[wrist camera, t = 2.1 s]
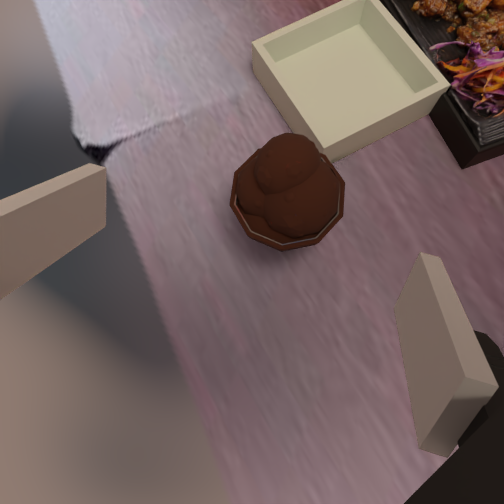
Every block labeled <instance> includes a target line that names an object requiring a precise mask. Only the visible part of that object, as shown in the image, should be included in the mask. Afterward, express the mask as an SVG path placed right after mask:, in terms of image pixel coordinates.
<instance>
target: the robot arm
mask: <svg viewBox="0 0 504 504" xmlns="http://www.w3.org/2000/svg"><path fill="white" fill-rule="evenodd" d="M105 226H106V168H105V167H102V166H98V165H94V164H90V163H89V164H87V165H84V166H82V167H80V168H77V169H74V170H72V171H70V172H67V173H65V174H62V175H61V176H58V177H55V178H53V179H50V180H48V181H46V182H43V183H41V184H38V185H36V186H33V187H31V188H29V189H26V190H24V191H21V192H19V193H17V194H14V195H12V196H9V197H7V198H5V199H2V200H0V300H1V299H3V298H4V297H5V296H7V295H8V294H10V293H11V292H13V291H14V290H15V289H17V288H18V287H20V286H21V285H23V284H24V283H25V282H27V281H28V280H30V279H31V278H32V277H34V276H35V275H37V274H38V273H40V272H41V271H42V270H44V269H45V268H47V267H48V266H50V265H51V264H52V263H54V262H55V261H57V260H58V259H60V258H61V257H62V256H64V255H65V254H66V253H68V252H70V251H71V250H72V249H74V248H75V247H77V246H78V245H80V244H81V243H82V242H84V241H85V240H87V239H88V238H89V237H91V236H92V235H94V234H95V233H97V232H98V231H100V230H101V229H102V228H104V227H105ZM394 313H395V318H396V324H397V329H398V335H399V340H400V346H401V352H402V357H403V363H404V368H405V374H406V380H407V385H408V391H409V396H410V402H411V407H412V413H413V419H414V424H415V430H416V435H417V441H418V447H419V449H422V450H425V451H428V452H431V453H434V454H437V455H440V456H443V457H447V458H448V457H449V455H450V454H451V452H452V451H453V450H454V448H455V447H456V446H457V444H458V445H459V449H458V450H457V451H456V452H455V453H454V454H453V455H452V456H451V457H450V458H449V459H448V460H447V461H446V462H445V463H444V464H443V465H442V466H441V467H440V468H439V469H438V470H437V471H436V472H435V473H434V474H433V475H432V476H431V477H430V478H429V479H428V480H427V481H426V482H425V483H424V484H423V485H422V486H421V487H420V488H419V489H418V490H417V491H416V492H415V493H414V494H413V495H412V496H411V497H410V498H409V499H408V500H407V501H406V502H405V503H404V504H504V357H503V355H502V353H501V351H500V349H499V347H498V346H497V345H496V344H495V343H494V342H493V341H492V340H491V339H490V338H489V337H488V336H487V334H485V333H481V332H477V331H474V330H473V329H472V327H471V324H470V322H469V320H468V318H467V316H466V313H465V311H464V309H463V307H462V305H461V302H460V300H459V298H458V296H457V294H456V291H455V289H454V287H453V285H452V283H451V280H450V278H449V276H448V274H447V272H446V269H445V267H444V265H443V263H442V261H441V258H440V257H437V256H433V255H429V254H426V253H422V252H420V253H419V255H418V257H417V259H416V262H415V264H414V266H413V268H412V270H411V272H410V274H409V277H408V279H407V281H406V283H405V285H404V287H403V289H402V292H401V294H400V296H399V298H398V300H397V302H396V305H395V307H394Z"/></svg>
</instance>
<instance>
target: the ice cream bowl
mask: <svg viewBox="0 0 504 504" xmlns="http://www.w3.org/2000/svg"><path fill="white" fill-rule="evenodd" d="M344 191H345V182H344V180H343V179H342V178H341V176H340V175H339V173H338V172H337V170H336V169H335V168H334V166H333V165H332V163H331V162H330V161H329V159H328V158H327V156H326V155H325V154H322V153H319V150H318V149H317V148H316V145H315V143H314V142H313V141H311V140H309V139H308V138H307V137H306V136H304V135H301V134H293V133H284V134H281V135H279V136H276V137H273V138H272V139H271V140H269V141H268V142H267V143H266V144H265V145H264V146H263V147H262V148H261V149H258V150H257V151H256V152H255V153H254V154H253V155H252V156H251V157H250V158H249V159H248V160H247V161H246V162H245V163H244V164H243V165H242V166H241V167H239V168H238V169H237V170H236V171H235V172H234V179H233V185H232V192H231V199H230V207H231V208H232V210H233V212H234V213H235V215H236V217H237V218H238V220H239V222H240V224H241V225H242V227H243V229H244V230H245V232H246V234H247V235H248V236H249V237H250V238H251V239H253V240H256V241H258V242H260V243H263V244H265V245H267V246H270V247H272V248H275V249H277V250H279V251H286V250H291V249H296V248H301V247H306V246H311V245H316V244H317V243H319V242H320V241H321V240H322V239H323V237H324V236H325V235H326V234H327V233H328V232H329V231H330V230H331V229H332V228H333V227H334V225H335V224H336V223H337V222H338V221H339V220H340V219H341V218H342V217H343V209H344Z"/></svg>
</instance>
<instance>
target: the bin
mask: <svg viewBox="0 0 504 504" xmlns="http://www.w3.org/2000/svg"><path fill="white" fill-rule="evenodd" d="M252 64H253V73H254V75H255V76H256V78H257V79H258V81H259V82H260V84H261V85H262V87H263V88H264V90H265V91H266V93H267V94H268V96H269V97H270V99H271V100H272V102H273V103H274V105H275V106H276V108H277V109H278V111H279V112H280V114H281V115H282V117H283V118H284V120H285V121H286V123H287V124H288V126H289V127H290V129H291V130H292V132H293V133H294V134H301V135H304V136H306V137H307V138H308V139H309V140H311V141H313V142H314V143H315V145H316V148H317V149H318V150H319V153H322V154H325V155H326V156H327V158H328V159H329V161H330V162H331V163H334V162H336V161H338V160H340V159H342V158H344V157H346V156H348V155H350V154H352V153H354V152H356V151H357V150H359V149H361V148H363V147H365V146H367V145H369V144H371V143H373V142H375V141H377V140H379V139H381V138H383V137H385V136H387V135H389V134H391V133H393V132H395V131H397V130H399V129H401V128H403V127H405V126H407V125H409V124H411V123H412V122H414V121H416V120H418V119H420V118H422V117H424V116H426V115H428V114H429V113H430V112H431V110H432V108H433V107H434V105H435V104H436V102H437V101H438V99H439V98H440V96H441V95H442V94H443V93H444V92H446V91H447V90H448V88H449V86H450V83H449V82H448V81H447V80H446V79H445V77H444V76H443V75H442V74H441V73H440V72H439V70H438V69H437V68H436V67H435V66H434V64H433V63H432V62H431V61H430V60H429V59H428V57H427V56H426V55H425V54H424V53H423V51H422V50H421V49H420V48H419V47H418V46H417V44H416V43H415V42H414V41H413V40H412V38H411V37H410V36H409V35H408V34H407V33H406V31H405V30H404V29H403V28H402V27H401V25H400V24H399V23H398V22H397V21H396V20H395V18H394V17H393V16H392V15H391V14H390V12H389V11H388V10H387V9H386V8H385V7H384V5H383V4H382V3H381V2H380V1H379V0H342V1H340V2H338V3H336V4H334V5H332V6H329V7H327V8H325V9H323V10H321V11H318V12H316V13H314V14H312V15H310V16H307V17H305V18H303V19H301V20H299V21H297V22H294V23H292V24H290V25H288V26H286V27H283V28H281V29H279V30H277V31H275V32H273V33H270V34H268V35H266V36H264V37H262V38H259V39H257V40H255V41H253V42H252Z"/></svg>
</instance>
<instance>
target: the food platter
mask: <svg viewBox="0 0 504 504" xmlns="http://www.w3.org/2000/svg"><path fill="white" fill-rule="evenodd" d="M379 1H380V2H381V3H382V4H383V5H384V7H385V8H386V9H387V10H388V11H389V12H390V14H391V15H392V16H393V17H394V18H395V20H396V21H397V22H398V23H399V24H400V25H401V27H402V28H403V29H404V30H405V31H406V33H407V34H408V35H409V36H410V37H411V38H412V40H413V41H414V42H415V43H416V44H417V46H418V47H419V48H420V49H421V50H422V51H423V53H424V54H425V55H426V56H427V57H428V59H429V60H430V61H431V62H432V63H433V64H434V66H435V67H436V68H437V69H438V70H439V72H440V73H441V74H442V75H443V76H444V77H445V79H446V80H447V81H448V82H449V83H450V86H449V87H451V86H452V87H451V88H449V89H450V90H449V92H448V91H446V92H444V93H443V94H442V95H441V96H440V98H439V99H438V101H437V102H436V104H435V105H434V107H433V108H432V110H431V112H430V113H429V116H430V117H431V119H432V121H433V122H434V124H435V126H436V127H437V129H438V131H439V132H440V134H441V136H442V137H443V139H444V141H445V142H446V144H447V146H448V147H449V149H450V151H451V152H452V154H453V156H454V157H455V159H456V161H457V162H458V164H459V166H460V167H461V169H465V168H467V167H470V166H473V165H476V164H478V163H481V162H484V161H487V160H489V159H492V158H495V157H497V156H500V155H503V154H504V96H503V95H504V0H379ZM498 11H499V12H498ZM502 12H503V13H502ZM439 20H440V21H439ZM422 27H423V28H422ZM500 29H501V30H500ZM467 94H468V95H467ZM484 97H485V98H484Z"/></svg>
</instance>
